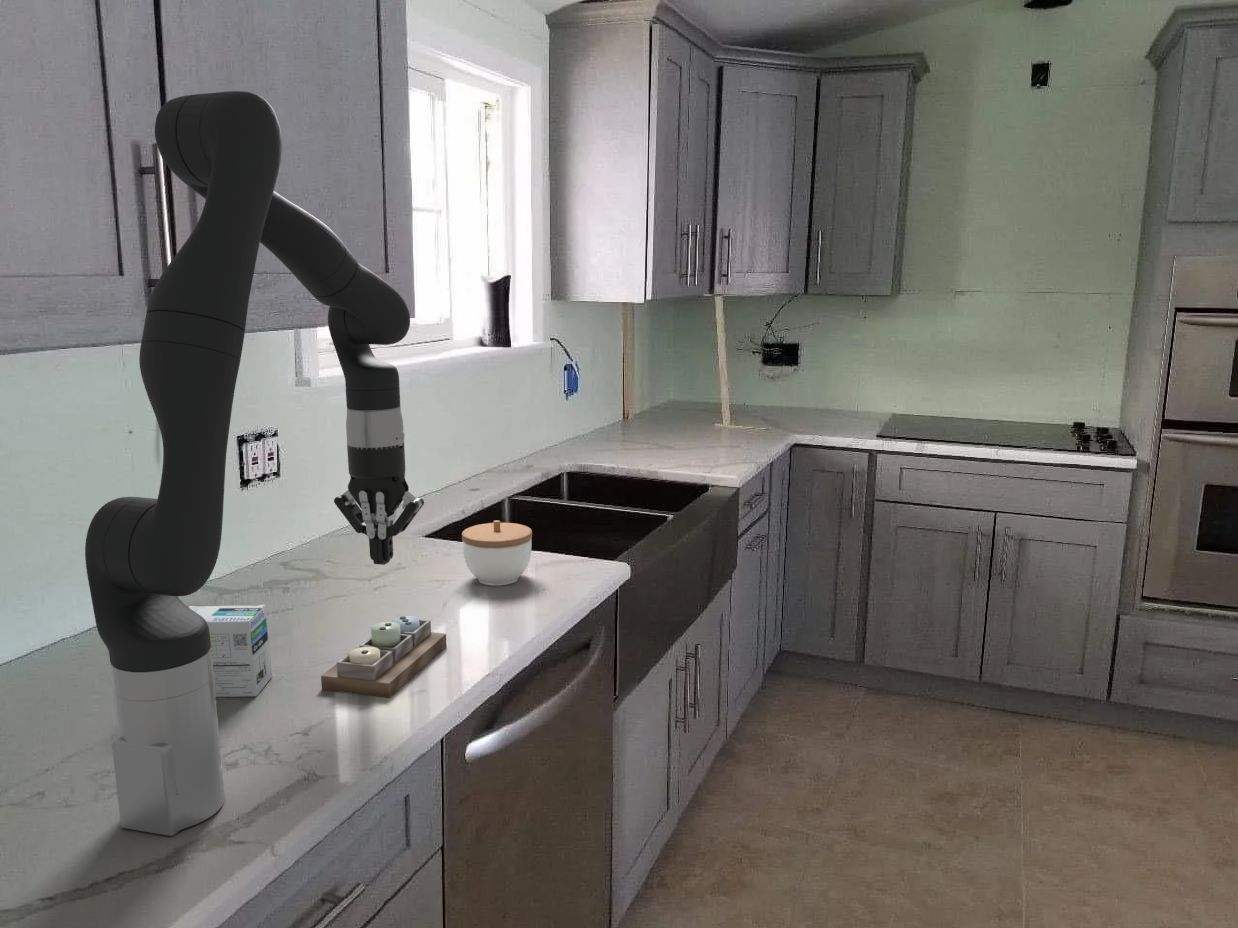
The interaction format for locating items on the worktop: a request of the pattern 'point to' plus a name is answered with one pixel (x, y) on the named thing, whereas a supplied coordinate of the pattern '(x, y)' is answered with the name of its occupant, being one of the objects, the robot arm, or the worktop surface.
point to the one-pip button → (365, 655)
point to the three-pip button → (407, 623)
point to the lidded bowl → (497, 551)
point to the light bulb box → (238, 648)
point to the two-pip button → (386, 634)
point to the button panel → (386, 664)
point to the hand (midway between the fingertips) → (382, 562)
